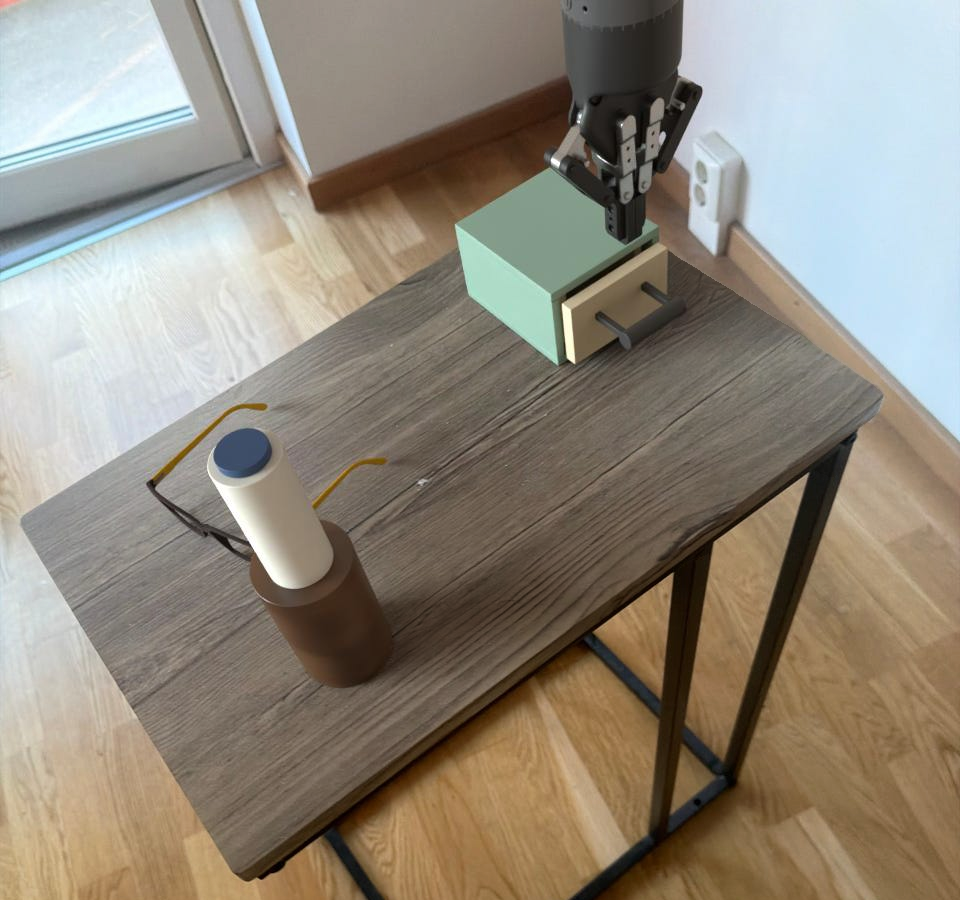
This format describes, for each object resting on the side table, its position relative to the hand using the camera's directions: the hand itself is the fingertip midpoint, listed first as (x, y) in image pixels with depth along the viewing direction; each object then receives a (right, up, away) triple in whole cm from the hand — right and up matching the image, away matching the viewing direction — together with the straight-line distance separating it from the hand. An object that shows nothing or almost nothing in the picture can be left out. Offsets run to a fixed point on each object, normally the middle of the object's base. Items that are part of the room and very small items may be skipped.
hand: (626, 236), depth 72 cm
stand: (-21, -32, -2) cm, 38 cm away
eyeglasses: (-29, -19, +7) cm, 35 cm away
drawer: (-1, -2, +11) cm, 11 cm away
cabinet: (-4, 0, +14) cm, 15 cm away
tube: (-23, -26, -11) cm, 37 cm away
